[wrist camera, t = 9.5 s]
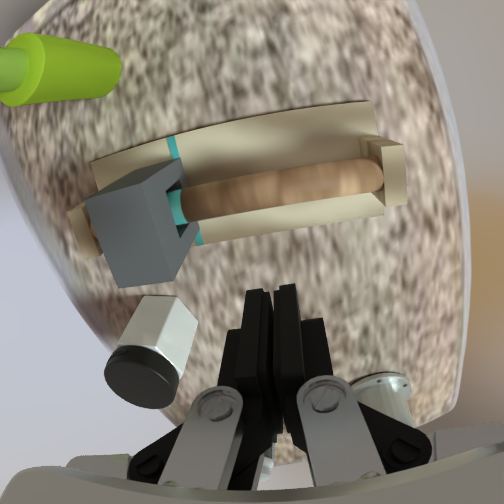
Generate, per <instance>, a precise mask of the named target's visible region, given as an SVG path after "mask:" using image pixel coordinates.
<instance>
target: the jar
mask: <svg viewBox="0 0 504 504" xmlns="http://www.w3.org/2000/svg"><path fill="white" fill-rule="evenodd" d="M197 325H198V321H197V319H196V318H195V317H194V316H193V315H192V314H191V313H190V311H189V310H188V309H187V308H186V307H185V306H184V304H183V303H182V302H181V301H180V300H179V298H178V297H173V296H146V295H145V296H143V298H142V300H141V302H140V303H139V305H138V307H137V308H136V310H135V312H134V314H133V315H132V317H131V319H130V321H129V323H128V324H127V326H126V327H125V329H124V331H123V333H122V335H121V337H120V339H119V341H118V342H117V345H116V349H115V351H114V352H113V354H112V355H111V356H110V358H109V360H108V362H107V364H106V367H105V370H104V376H105V380H106V382H107V384H108V385H109V387H110V388H111V389H112V390H113V391H114V392H115V393H116V394H117V395H118V396H120V397H121V398H122V399H124V400H125V401H127V402H129V403H131V404H134V405H136V406H139V407H143V408H149V409H161V408H165V407H167V406H169V405H170V404H171V403H172V402H173V401H174V398H175V395H176V391H177V388H178V384H179V380H180V378H181V377H182V375H183V373H184V369H185V366H186V362H187V359H188V356H189V352H190V349H191V345H192V342H193V339H194V335H195V332H196V329H197Z"/></svg>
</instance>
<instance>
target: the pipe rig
mask: <svg viewBox="0 0 504 504" xmlns="http://www.w3.org/2000/svg"><path fill="white" fill-rule="evenodd" d="M180 157H181V161H182V165H183V169H184V173H185V176H186V180H187V184H188V188H184V189H179V190H175V191H171V192H166V195H167V198H168V201H169V205H170V208H171V211H172V215H173V218H174V221H175V225H180V224H185V223H190V222H196V221H198V224H199V227H200V230H199V232H198V234H197V236H196V238H195V240H194V242H193V244H192V246H199V245H204V244H208V243H214V242H220V241H226V240H232V239H238V238H244V237H249V236H256V235H262V234H268V233H274V232H280V231H286V230H292V229H298V228H305V227H311V226H317V225H323V224H330V223H336V222H343V221H349V220H356V219H362V218H369V217H375V216H382V215H384V206H385V207H389V206H396V205H403V204H407V185H406V168H405V154H404V145H403V144H400V143H397V142H394V141H392V140H389V139H386V138H383V137H380V136H377V128H376V121H375V114H374V108H373V101H366V102H354V103H343V104H334V105H325V106H317V107H310V108H303V109H296V110H289V111H283V112H277V113H271V114H266V115H260V116H255V117H250V118H245V119H240V120H235V121H231V122H226V123H222V124H217V125H213V126H209V127H204V128H200V129H196V130H192V131H189V132H185V133H181V134H177V135H174V136H170V137H167V138H163V139H160V140H156V141H153V142H149V143H146V144H143V145H140V146H137V147H133V148H130V149H127V150H124V151H121V152H118V153H115V154H112V155H110V156H107V157H104V158H101V159H98V160H96V161H93V162H90V165H91V168H92V171H93V175H94V178H95V181H96V185H97V188H98V191H99V190H101V189H103V188H104V187H106V186H108V185H109V184H111V183H113V182H115V181H116V180H118V179H120V178H121V177H123V176H125V175H127V174H128V173H130V172H132V171H134V170H136V169H139V168H143V167H146V166H150V165H153V164H157V163H161V162H164V161H168V160H172V159H176V158H180ZM67 215H68V217H69V220H70V223H71V226H72V228H73V231H74V233H75V236H76V239H77V241H78V244H79V246H80V248H81V251H82V253H83V256H84V258H85V259H87V258H92V257H97V256H101V254H102V253H103V251H102V248H101V246H100V243H99V241H98V238H97V235H96V233H95V230H94V227H93V225H92V222H91V219H90V216H89V214H88V211H87V208H86V205H85V202H84V201H83V202H82V203H80V204H79V205H77V206H76V207H74V208H73V209H71V210H70V211H68V212H67Z"/></svg>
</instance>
